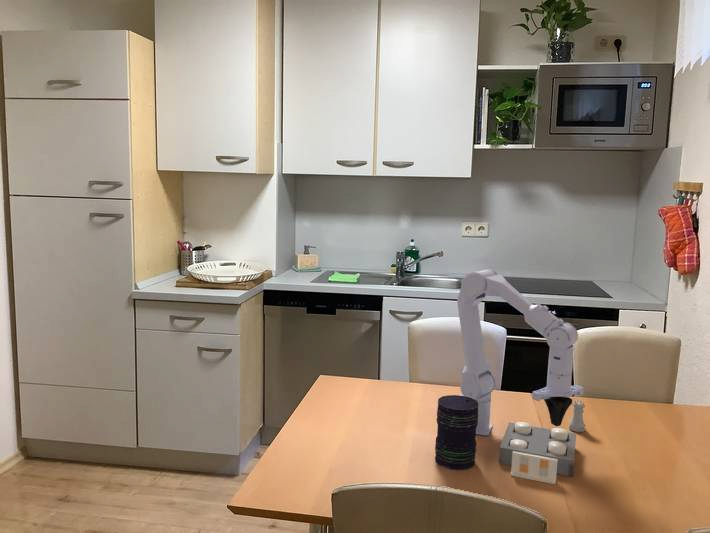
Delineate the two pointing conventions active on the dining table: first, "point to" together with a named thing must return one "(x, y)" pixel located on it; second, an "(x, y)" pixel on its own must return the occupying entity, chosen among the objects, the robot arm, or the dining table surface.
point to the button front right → (557, 448)
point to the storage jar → (456, 432)
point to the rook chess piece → (577, 417)
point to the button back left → (523, 428)
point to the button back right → (559, 434)
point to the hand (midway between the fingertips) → (555, 424)
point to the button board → (538, 447)
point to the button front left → (518, 443)
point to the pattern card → (534, 467)
